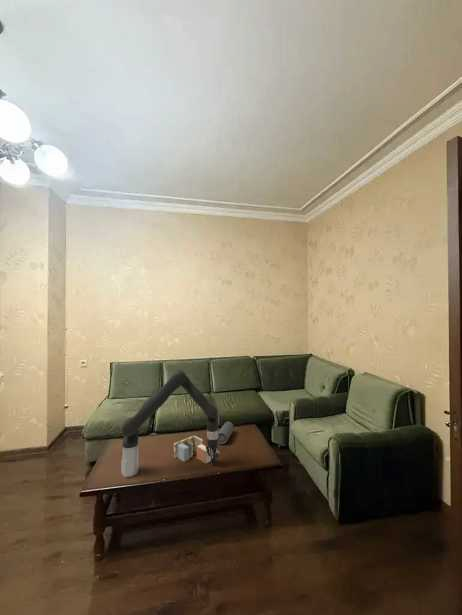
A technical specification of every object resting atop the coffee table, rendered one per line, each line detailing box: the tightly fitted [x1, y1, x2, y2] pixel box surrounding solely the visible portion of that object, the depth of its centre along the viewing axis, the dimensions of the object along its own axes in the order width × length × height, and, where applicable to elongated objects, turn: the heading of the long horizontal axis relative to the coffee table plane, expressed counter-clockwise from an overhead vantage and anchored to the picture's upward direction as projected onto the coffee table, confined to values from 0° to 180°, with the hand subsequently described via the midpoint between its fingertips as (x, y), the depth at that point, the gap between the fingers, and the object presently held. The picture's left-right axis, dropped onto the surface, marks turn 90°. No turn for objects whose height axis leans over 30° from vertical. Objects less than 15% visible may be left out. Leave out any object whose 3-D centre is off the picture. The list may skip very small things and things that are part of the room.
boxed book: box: [196, 444, 211, 465], centre depth 185 cm, size 10×4×8 cm, turn 43°
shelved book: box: [176, 443, 190, 463], centre depth 186 cm, size 4×8×8 cm, turn 44°
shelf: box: [173, 435, 204, 459], centre depth 190 cm, size 18×10×10 cm, turn 134°
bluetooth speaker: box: [218, 421, 235, 445], centre depth 216 cm, size 23×9×10 cm, turn 167°
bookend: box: [186, 441, 194, 459], centre depth 190 cm, size 4×7×9 cm, turn 44°
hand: (213, 463), depth 177 cm, fingers closed
